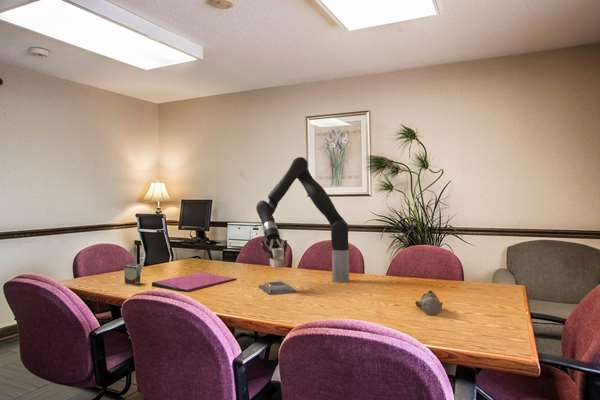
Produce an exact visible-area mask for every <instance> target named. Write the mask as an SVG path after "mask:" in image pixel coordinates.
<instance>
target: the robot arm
mask: <svg viewBox="0 0 600 400" xmlns="http://www.w3.org/2000/svg"><path fill="white" fill-rule="evenodd" d="M308 167H309V163H308V160H307V158H305V157H303V156H302V157H301V156H298V157H296V158H294V159H293V161H292V163H291V165H290V166H289V168H288V169H287V171H286V172H285V174H284V175H283V177H282V178H281V179H280V181H278V183H276V185H275V186H274V187H273V188H272V190H271V191H270V192H269V194H268V195H267V198H268V202H267V201H266V200H259V202H257V204H256V212H257V215H258V216H259V219H260V221H261V225H262V230H263V235H264V239H265V240H262V241H261V242H260V246H261V249H262V250H263V251H264V253H267V254H268V255H269V256H268V257H269V259H270V258H271V259H273V253H272V251H271V250H272V248H282V249H284V258H285V257H286V254H285V253H286V252H287V249H288V240H287V239H284V240H282V239H281V237H280V233H279V230H278V227H277V224H276V221H275V218H274V216H273V215H274V213H275V212H276V209H277V208H278V205H279V203H280V201H281V200H282V199H283V198H284V196H285V195H286V194H287V192H288V190H289V189H290V187H291V186H292V185H293V183H294V182H295V181H296V179H297V180H298V181H299V183H300V184H301V185H302V186H303V188H304V190H305V192H306V193H307V195H308V197H309V198H310V200H311V202H312V203H313V205H314V206H315V207H316V209H317V210H318V211H319V212H320V214H322V215H323V216H324V217H325V219H326V220H327V221H328V223H329V225H330V227H331V228H330V236H331V237H330V239H331V240H330V241H331V242H330V243H331V244H330V245H331V280H332V282H335V283H348V282H349V281H350V260H349V259H350V257H349V256H350V255H349V250H350V249H349V247H350V246H349V232H350V227H349V224H348V223H347V221H346V220H344V218H343V217H342V216H341V215H340V213H339V211H338V210H337V209H336V207H335V205H334V203H333V201H332V200H331V198H330V196H329V194H328V193H327V192H326V190H325V189H324V187H322V185H321V184H320V183H318V182H317V181H316V180H315V179H314V177H313V176H312V174H311V172H310V171H309V169H308ZM267 246H268V247H267Z"/></svg>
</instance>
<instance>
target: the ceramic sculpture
mask: <svg viewBox="0 0 600 400" xmlns="http://www.w3.org/2000/svg"><path fill="white" fill-rule="evenodd" d="M414 303H415V305H416V307H417V308H420V309H422V311H423V312H424V313H425V315H429V316H437V315H439V314H440V313H441V311H442V310H443V309H442V308H443V302H441V301H440V299H439V298H438V296H437V295H436V294H435V293H434V292H433V290H429V291H428V292H425V293H423V294H422V295H421V298H420V300H415V302H414Z"/></svg>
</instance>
